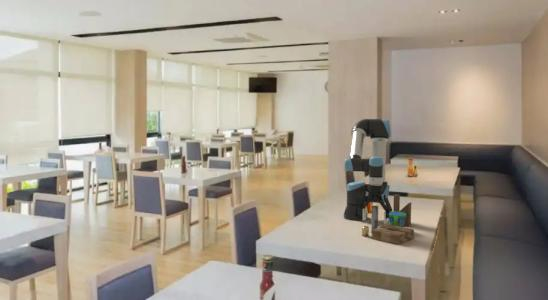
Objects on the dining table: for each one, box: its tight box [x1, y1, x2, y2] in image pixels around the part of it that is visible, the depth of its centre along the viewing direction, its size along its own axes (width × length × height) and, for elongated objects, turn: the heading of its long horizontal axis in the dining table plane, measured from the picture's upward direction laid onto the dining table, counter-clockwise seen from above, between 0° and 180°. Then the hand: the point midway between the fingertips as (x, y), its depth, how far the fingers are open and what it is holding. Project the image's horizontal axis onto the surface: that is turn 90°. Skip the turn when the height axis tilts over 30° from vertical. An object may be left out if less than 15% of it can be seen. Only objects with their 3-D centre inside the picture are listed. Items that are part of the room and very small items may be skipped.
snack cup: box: [388, 211, 406, 228], centre depth 257 cm, size 16×10×10 cm
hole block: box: [371, 224, 415, 246], centre depth 240 cm, size 16×16×5 cm
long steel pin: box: [370, 205, 379, 233], centre depth 253 cm, size 4×4×15 cm
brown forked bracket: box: [392, 193, 412, 227], centre depth 272 cm, size 4×11×18 cm, turn 49°
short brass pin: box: [361, 225, 370, 238], centre depth 246 cm, size 4×4×5 cm
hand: (374, 221), depth 253 cm, fingers open, 13 cm apart
